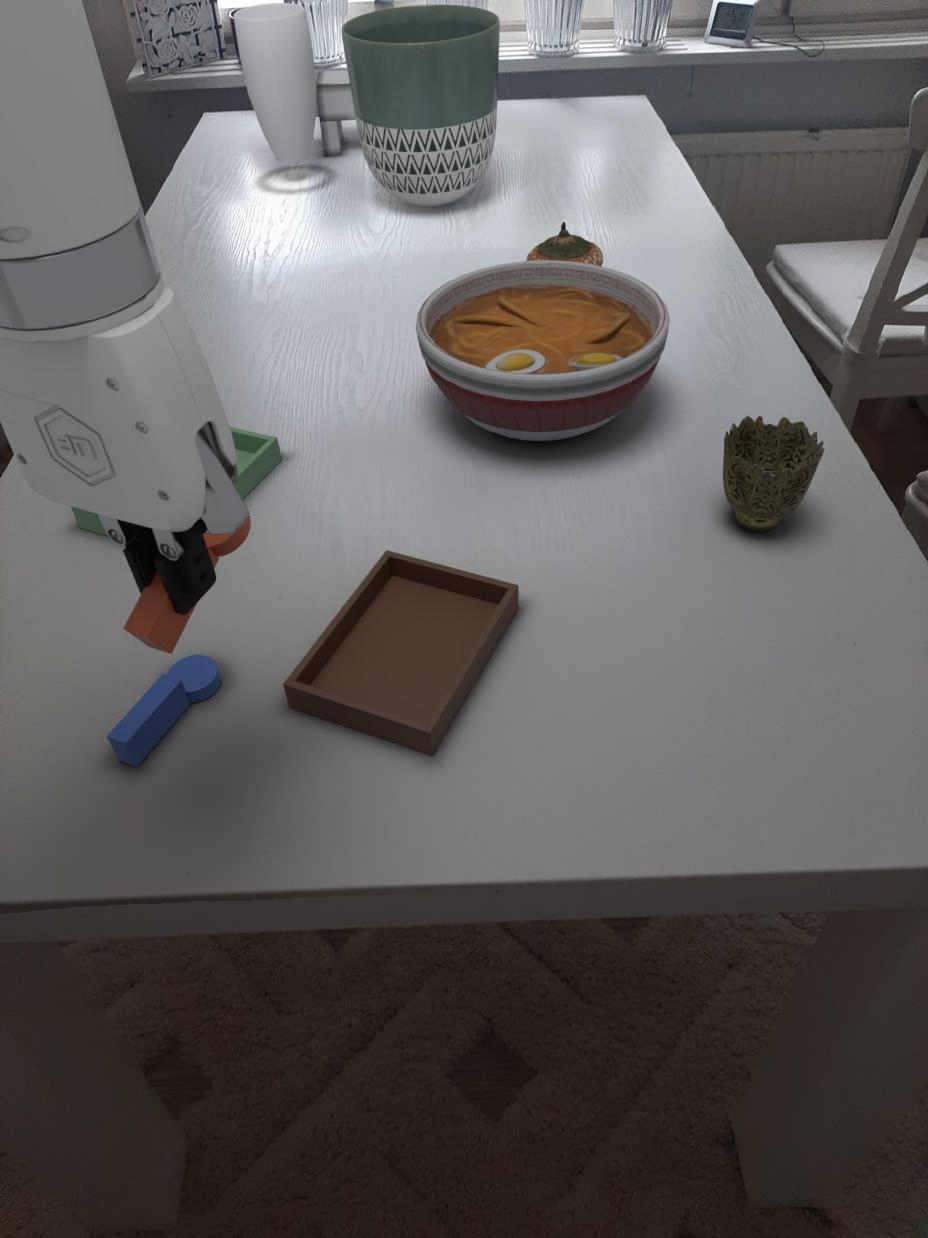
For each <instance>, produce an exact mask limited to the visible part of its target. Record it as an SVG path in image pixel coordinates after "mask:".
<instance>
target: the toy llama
mask: <svg viewBox="0 0 928 1238" xmlns="http://www.w3.org/2000/svg"><path fill="white" fill-rule="evenodd" d="M373 5H374V11H379V10H384V9H389V8H396V6H395V0H374V1H373ZM316 87H317V91H316V118H318V119H319V125H320V126H319V127H320V133H321V141H322V147H323V154H324V156H323V157H340V156H341V155H342V146H344V133H343V132H344V131H343V125H342V121H344V122H345V121H356V118H355V112H354V106H353V100H352V94H351V88H350V81H349V75H348V69H341V70H340V69H339V70H323V71H322V70H321V71H318V73H317V77H316Z"/></svg>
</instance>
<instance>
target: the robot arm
mask: <svg viewBox="0 0 928 1238" xmlns="http://www.w3.org/2000/svg"><path fill="white" fill-rule="evenodd" d="M103 73H104V72H103V70H102V67H101V63H100V59H99V56H98V53H97V49H96V46H95V42H94V39H93V35H92V31H91V29H90V25H89V22H88V18H87V16H86V12H85V8H84V4H83V1H82V0H0V424H1V426H2V429H3V432H4V435H5V436H6V439H7V442H8V444H9V446H10V448H11V450H12V453H13V455H14V457H15V460H16V462H17V464H18V466H19V468H20V470H21V472H22V474H23V476H24V478H25V480H26V482H27V483H28V485H29V486H30V487H31V489H32V490H34V491H35V492H36V493H38V494H39V495H41V496H43V497H44V498H46V499H48V500H50V501H53V502H55V503H59V504H62V505H66V506H70V507H71V506H72V507H76V508H79V509H83V510H86V511H90V512H93V513H95V514H96V515H98V517H99V519H100V521H101V523H102V525H103V527H104V529H105V532H106V534H107V535H108V536H107V535H106V536H107V537H108V539H109V540H110V541H111V542H112V543H114V544H115V545H117V546H120V547H125V548H123V550H122V553H123V555H124V557H125V560H126V562H127V564H128V567H129V569H130V571H131V574H132V577H133V579H134V581H135V584H136V586H137V588H138V591H139V593H140V595H141V593H142V592H143V590H144V588H145V587H146V586H150V584H151V582H152V580H153V578H154V576H155V574H156V572H157V571H158V573H159V576H160V578H161V581H162V584H163V586H164V589H165V591H166V592H167V595H168V596H169V598H170V601H171V603H172V606H173V608H174V611H175V612H176V613H178V614H181V615H186V614H187V613H188V612H189V611H190V610H191V609H192V608H193V607H194V606H195V605H196V606H197V605H198V603H199V602H200V601H201V599H202V598H203V597H204V596H205V595H206V594H207V593H208V592H209V591H210V589H211V588H212V587H213V586H214V585H215V583H216V581H217V573H216V570H215V568H214V567H213V564H212V561H211V558H210V555H209V552H208V549H207V546H206V543H205V540H204V536H203V534H208V533H210V534H211V535H220V534H233V533H235V532H236V531H237V530H238V529H239V528H240V527H241V526H242V525H243V524H244V523H245V521H246V520H247V519H248V518H249V517H250V518H251V516H250V515H251V513H250V511H249V509H248V507H247V505H246V503H245V502H244V500H243V499H242V498H241V497H240V495H239V493H238V492H237V490H236V488H235V486H234V485H233V483H235V482H236V481H237V480H238V477H239V468H238V460H237V455H236V450H235V446H234V442H233V438H232V434H231V431H230V427H231V426H230V424H229V421H228V418H227V415H226V411H225V408H224V404H223V403H222V399H221V396H220V394H219V390H218V387H217V385H216V383H215V379H214V378H213V377H214V376H213V374H212V371H211V370H210V366H209V365H208V362H207V359H206V357H205V355H204V351H203V350H202V347H201V345H200V343H199V340H198V338H197V336H196V334H195V331H194V329H193V327H192V325H191V322H190V321H189V318H188V316H187V315H186V312H185V311H184V309H183V307H182V304H181V303H180V301H179V299H178V296H177V294H176V293H175V290H174V289H171V288H169V287H167V286H165V280H164V277H163V274H162V271H161V270H162V269H161V268H160V263H159V260H158V256H157V253H156V250H155V246H154V242H153V239H152V236H151V233H150V230H149V225H148V222H147V219H146V216H145V212H144V208H143V206H142V203H141V200H140V197H139V193H138V190H137V187H136V182H135V180H134V179H135V178H134V176H133V173H132V170H131V167H130V163H129V159H128V156H127V152H126V149H125V145H124V142H123V139H122V136H121V132H120V128H119V125H118V121H117V118H116V114H115V111H114V109H113V104H112V101H111V97H110V94H109V91H108V87H107V84H106V80H105V77H104V74H103ZM196 606H195V607H196Z"/></svg>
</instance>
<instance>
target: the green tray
mask: <svg viewBox="0 0 928 1238" xmlns="http://www.w3.org/2000/svg"><path fill="white" fill-rule="evenodd" d="M229 427H230V431H231V434H232V438H233V442H234V446H235V450H236V455H237V460H238V468H239V477H238V480H237V481H236V482H235V483H233V485H234V486H235V488H236V490H237V492H238V493H239V495H240V497H241V498H242V500H243V499H244V498H245V497H246V496H247V495H248V494H249V493H250V492H251V491H252V490H253V489H255V487H256V486H257V485H258V484H259V483H260V482H261V481H262V480H263V479H264V478H265V477H266V476H268V474H269V473H270V472H271V471H272V470H273V469H274V468H275V467H276V466H277V465H278V464H279V463H280V462H281V461H282V460H283V457H282V453H281V449H280V443H279V438H278V437H277V436H272V435H267V434H263V433H259V432H255V431H251V430H246V429H242V428H237V427H233V426H229ZM70 509H71V511H72V513H73V516H74V519H75V520H76V523H77V525H78V528H79V529H83V530H86V531H90V532H93V533H96V534H101V535H103V536H107V537H108V535H107V534H106V532H105V529H104V527H103V525H102V523H101V521H100V519H99V517H98V515H96V514H95V513H93V512H90V511H86V510H83V509H79V508H76V507H72V506H70Z"/></svg>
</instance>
